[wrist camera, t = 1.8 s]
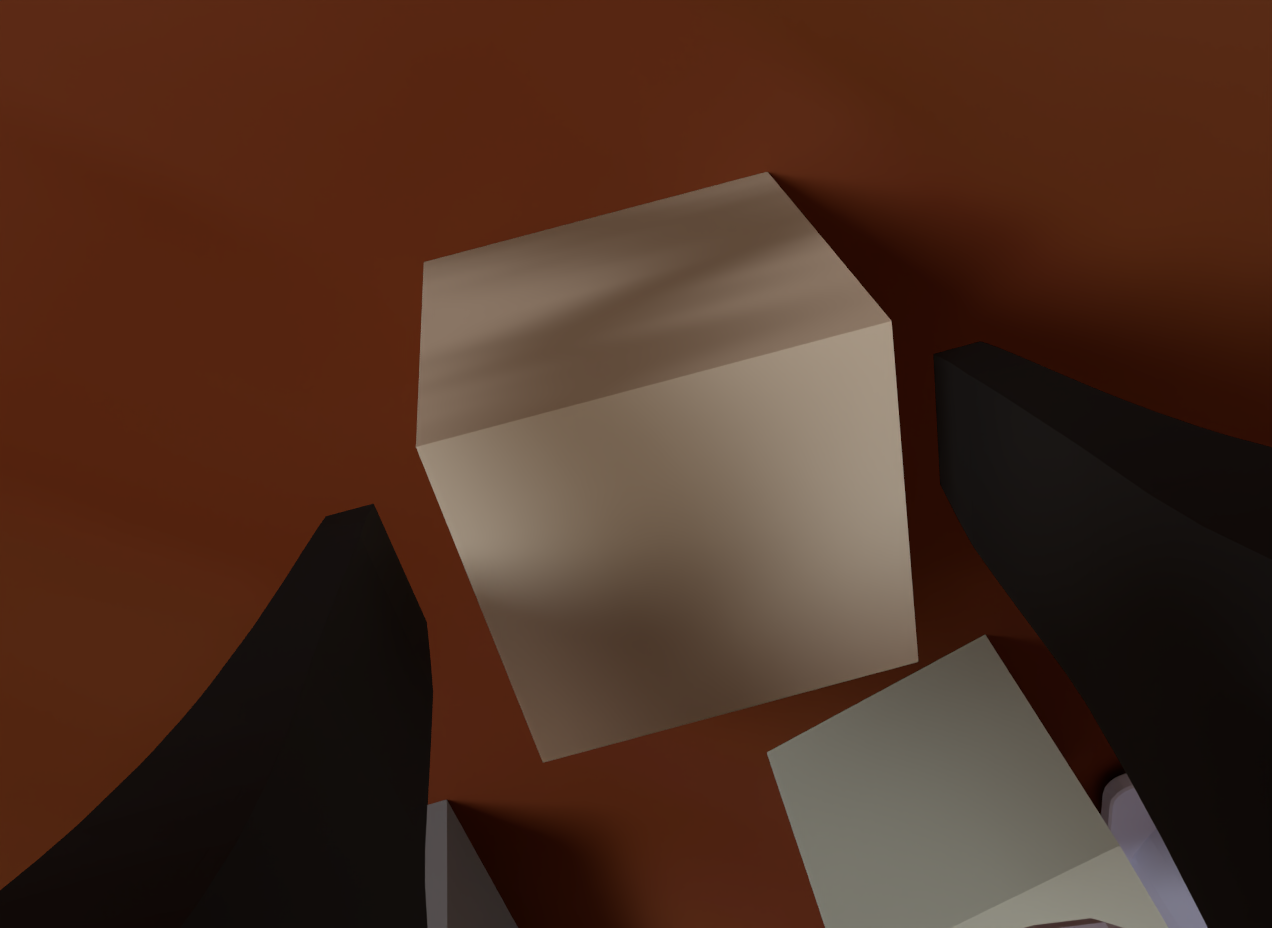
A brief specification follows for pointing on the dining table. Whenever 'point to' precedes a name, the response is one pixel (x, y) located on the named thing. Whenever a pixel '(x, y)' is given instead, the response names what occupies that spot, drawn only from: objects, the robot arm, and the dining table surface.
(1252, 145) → the dining table surface
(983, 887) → the sage block
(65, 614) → the dining table surface
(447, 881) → the base block
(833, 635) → the maple cube
